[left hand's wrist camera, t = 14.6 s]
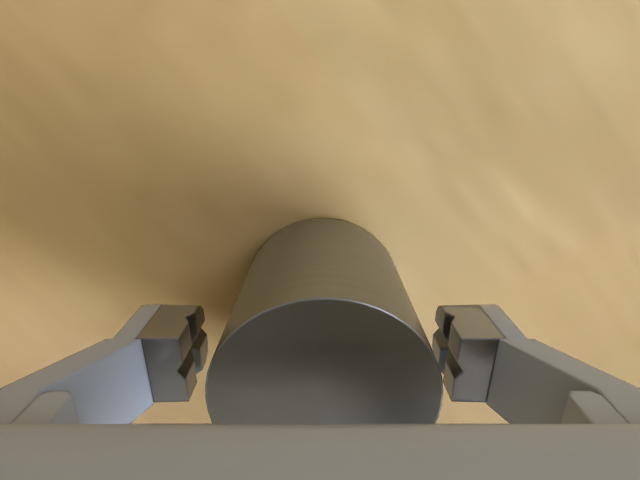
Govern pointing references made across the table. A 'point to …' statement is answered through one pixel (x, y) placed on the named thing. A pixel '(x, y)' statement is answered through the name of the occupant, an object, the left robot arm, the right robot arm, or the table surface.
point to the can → (323, 337)
